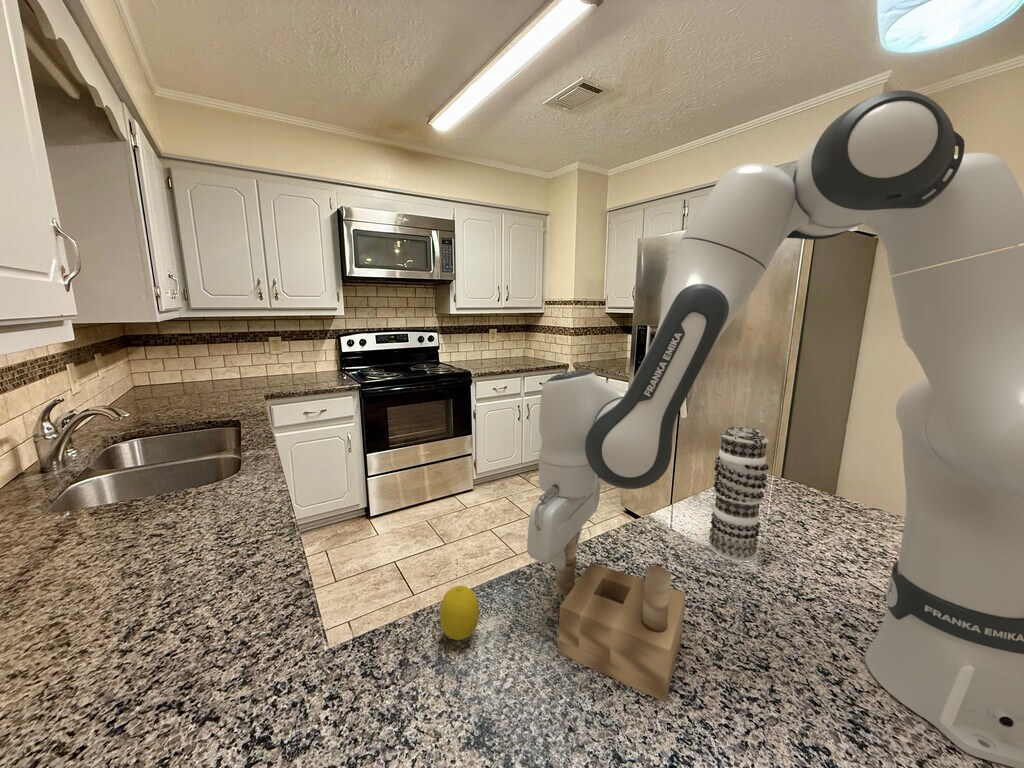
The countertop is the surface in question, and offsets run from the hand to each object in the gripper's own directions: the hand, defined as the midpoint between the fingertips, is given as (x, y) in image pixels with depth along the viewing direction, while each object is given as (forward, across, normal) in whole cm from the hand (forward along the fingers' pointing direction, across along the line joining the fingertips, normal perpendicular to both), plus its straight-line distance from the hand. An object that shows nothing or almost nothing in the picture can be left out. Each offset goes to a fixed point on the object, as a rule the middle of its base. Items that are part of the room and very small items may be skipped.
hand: (566, 559), depth 65 cm
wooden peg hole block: (+8, -4, -10) cm, 13 cm away
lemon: (+7, -15, +10) cm, 19 cm away
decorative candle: (+8, +32, -22) cm, 40 cm away
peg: (+5, 0, 0) cm, 5 cm away
